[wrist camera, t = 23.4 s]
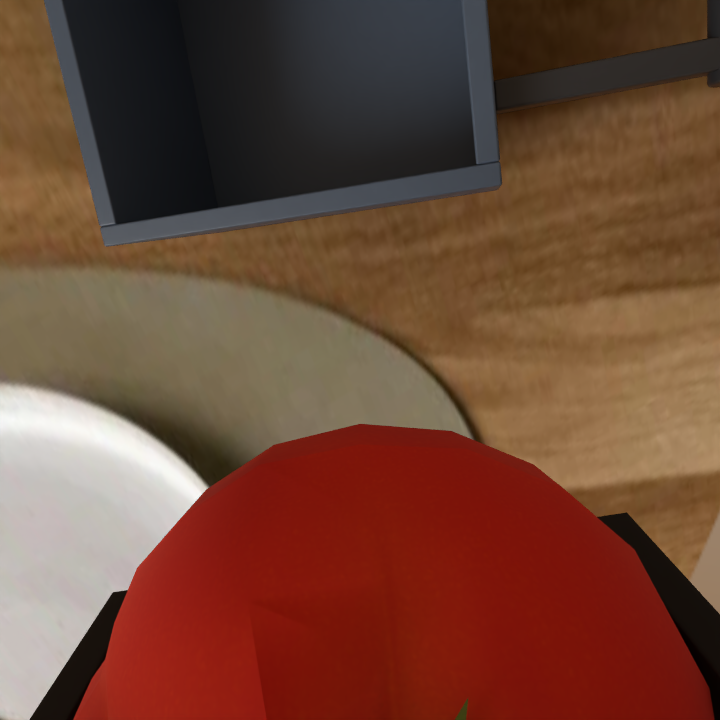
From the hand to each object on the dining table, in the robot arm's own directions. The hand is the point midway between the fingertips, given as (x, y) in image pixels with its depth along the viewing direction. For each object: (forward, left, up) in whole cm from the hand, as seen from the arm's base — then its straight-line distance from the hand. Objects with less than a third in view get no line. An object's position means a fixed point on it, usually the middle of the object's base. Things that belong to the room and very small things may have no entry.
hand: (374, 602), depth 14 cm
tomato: (0, 0, 0) cm, 0 cm away
